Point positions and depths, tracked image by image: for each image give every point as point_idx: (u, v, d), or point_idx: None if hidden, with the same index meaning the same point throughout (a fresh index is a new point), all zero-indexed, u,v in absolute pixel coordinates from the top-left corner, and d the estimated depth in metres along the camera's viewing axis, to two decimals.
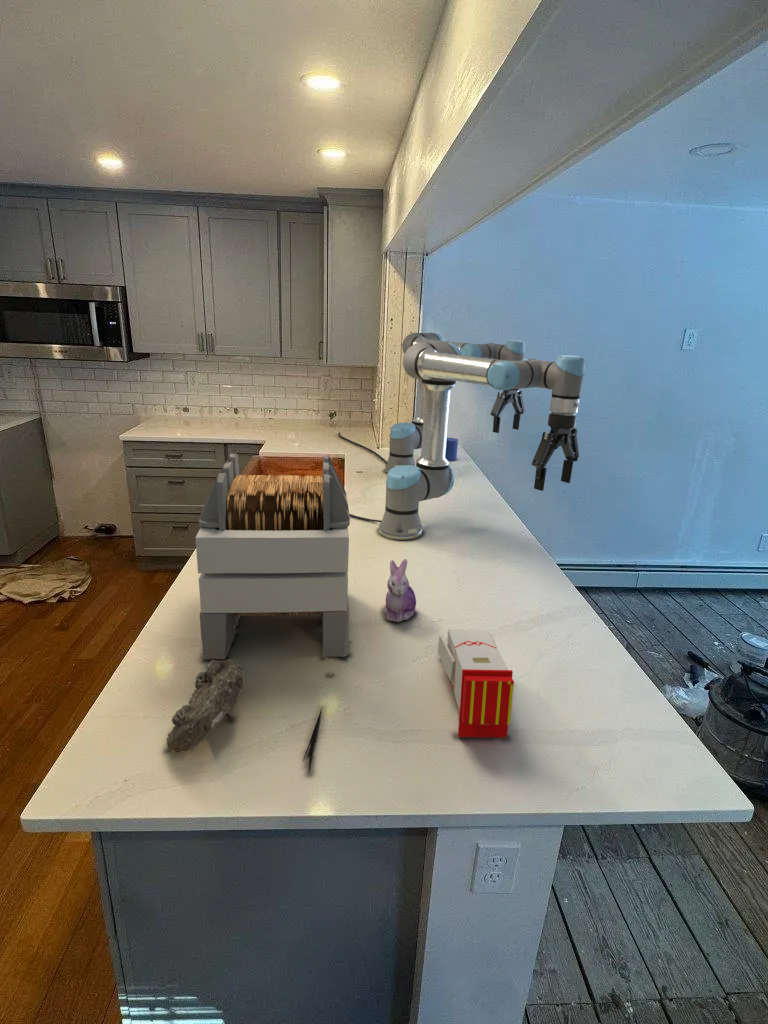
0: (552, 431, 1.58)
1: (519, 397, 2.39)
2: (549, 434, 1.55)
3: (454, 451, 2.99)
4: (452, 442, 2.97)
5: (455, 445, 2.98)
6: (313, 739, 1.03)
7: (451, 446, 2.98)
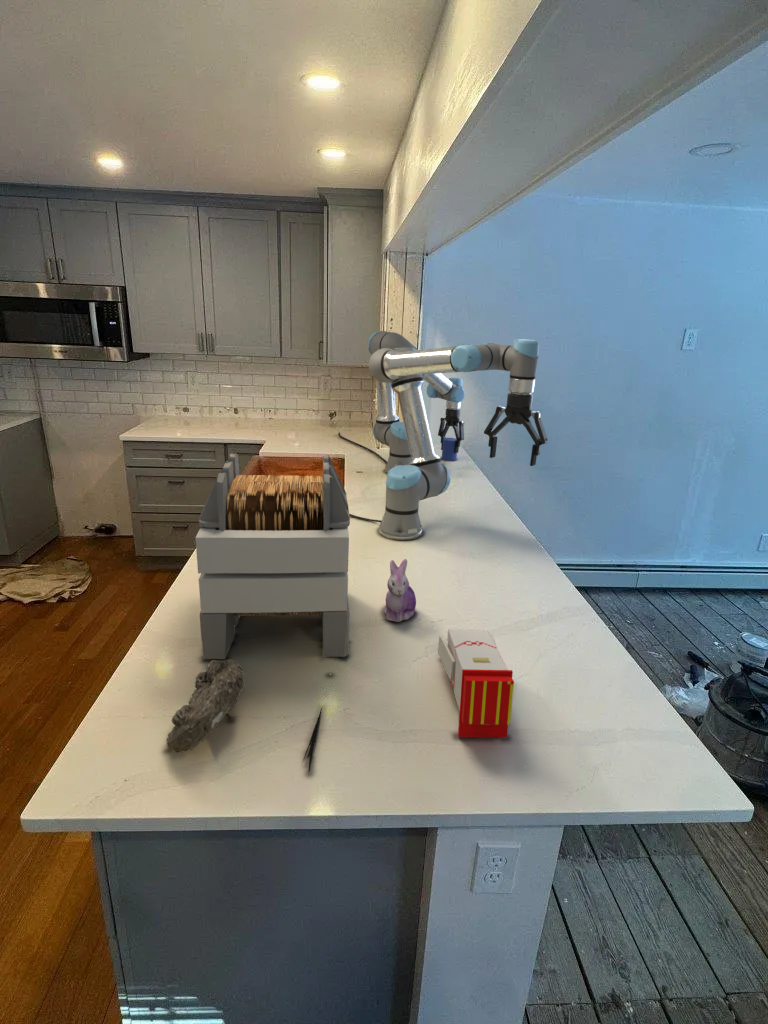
0: (529, 410, 1.71)
1: (444, 422, 3.01)
2: (540, 412, 1.70)
3: None
4: (452, 442, 2.97)
5: None
6: (313, 739, 1.03)
7: (451, 446, 2.98)
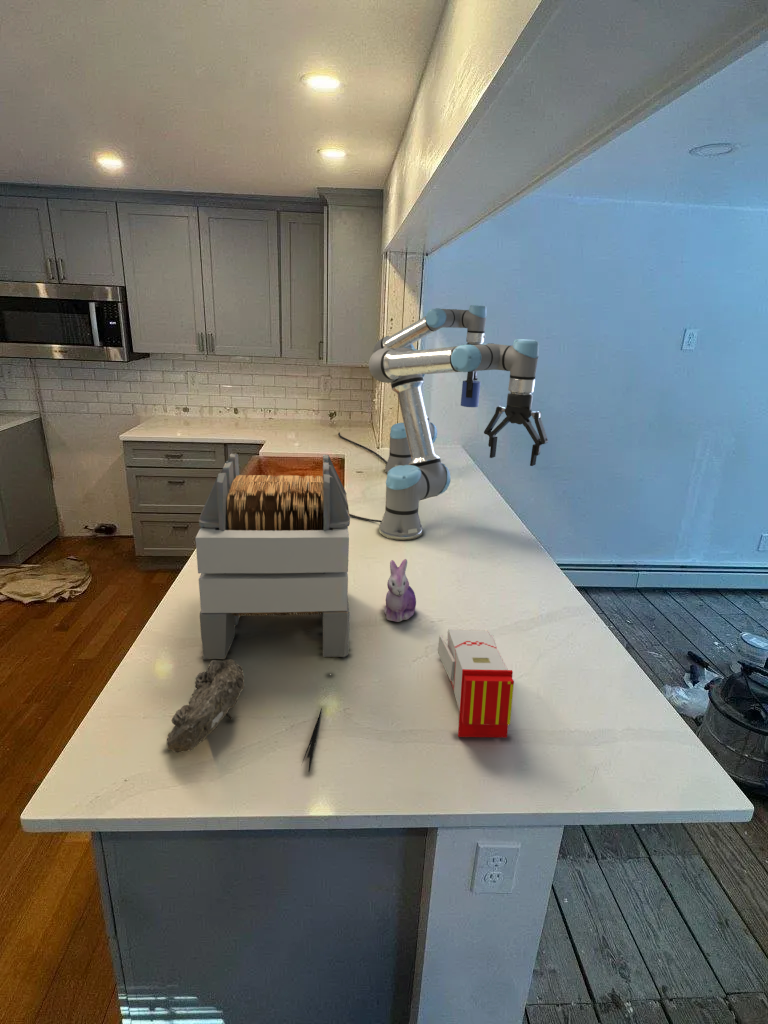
0: (529, 410, 1.71)
1: None
2: (540, 412, 1.70)
3: None
4: (465, 383, 2.49)
5: None
6: (313, 739, 1.03)
7: (464, 388, 2.50)
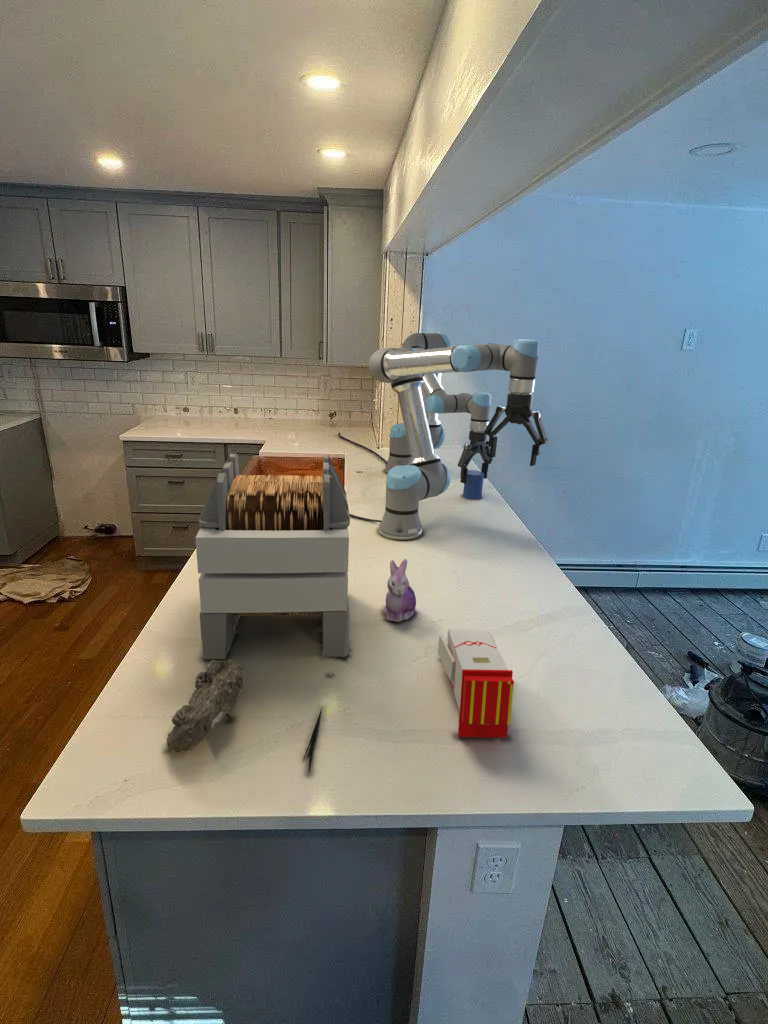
0: (529, 410, 1.71)
1: (487, 447, 2.40)
2: (540, 412, 1.70)
3: (465, 486, 2.40)
4: None
5: None
6: (313, 739, 1.03)
7: None
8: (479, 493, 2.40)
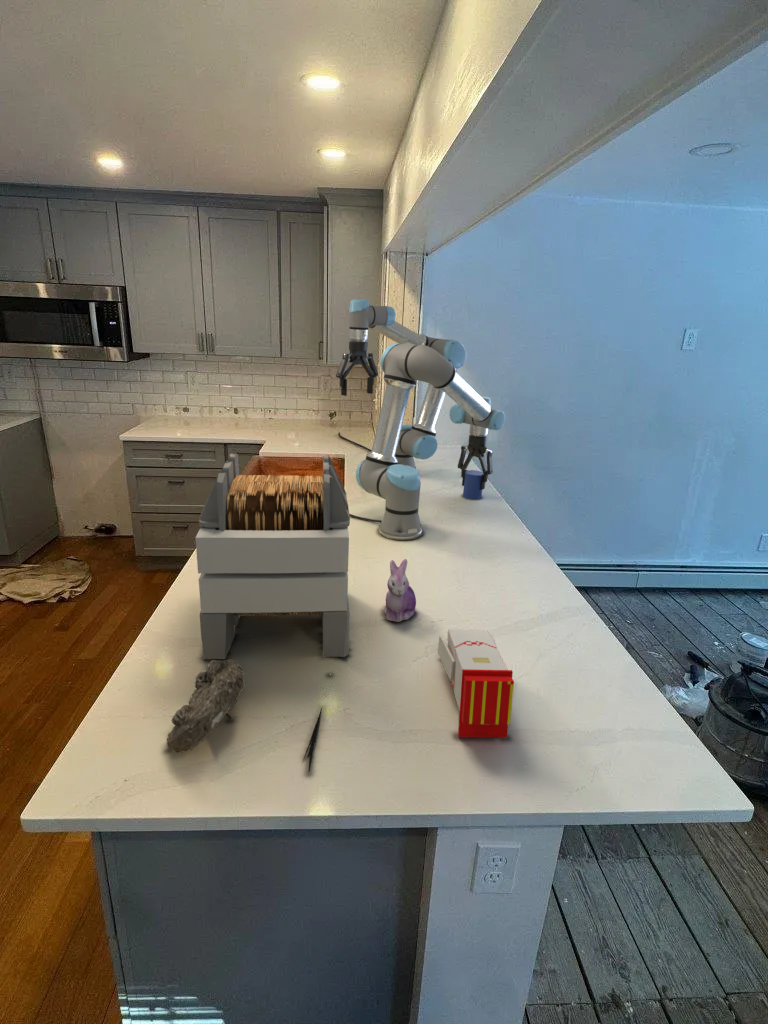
0: (485, 447, 2.34)
1: (370, 359, 2.32)
2: (492, 451, 2.34)
3: (465, 486, 2.40)
4: (465, 474, 2.40)
5: (466, 479, 2.39)
6: (313, 739, 1.03)
7: None
8: (479, 493, 2.40)
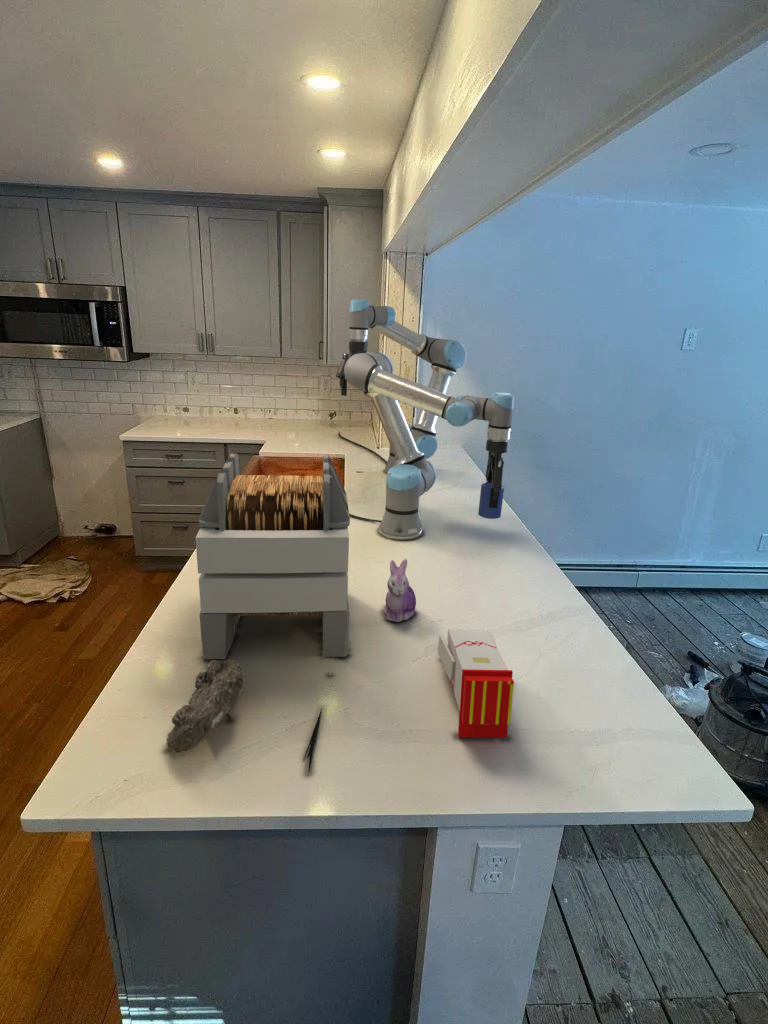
0: (498, 456, 1.89)
1: None
2: (502, 463, 1.87)
3: None
4: None
5: None
6: (313, 739, 1.03)
7: None
8: (489, 511, 1.96)
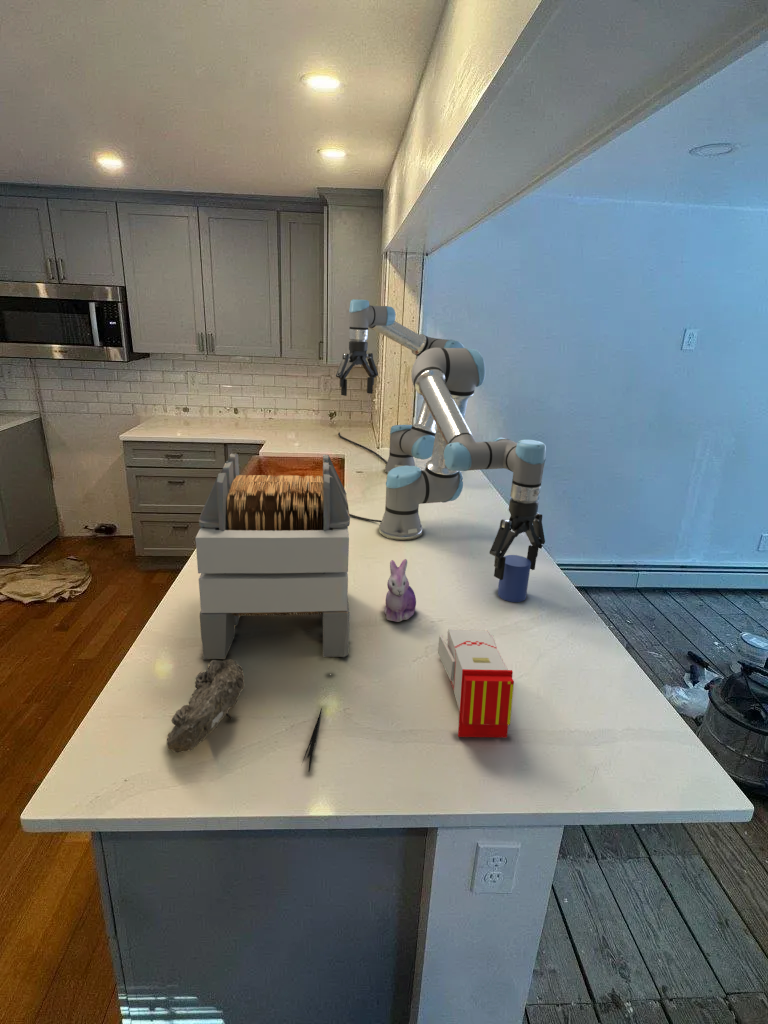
0: (511, 518, 1.50)
1: (370, 359, 2.32)
2: (506, 523, 1.48)
3: None
4: None
5: None
6: (313, 739, 1.03)
7: None
8: (500, 588, 1.58)
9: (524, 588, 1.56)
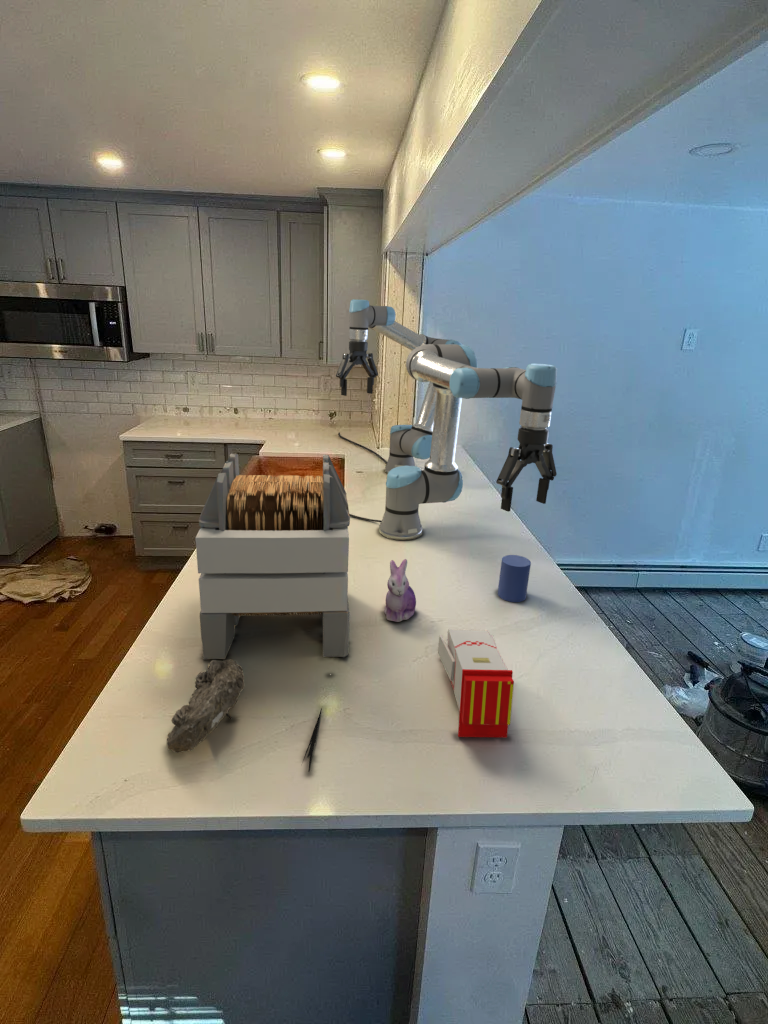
0: (521, 447, 1.44)
1: (370, 359, 2.32)
2: (515, 450, 1.41)
3: None
4: None
5: None
6: (313, 739, 1.03)
7: None
8: (500, 588, 1.58)
9: (524, 588, 1.56)
